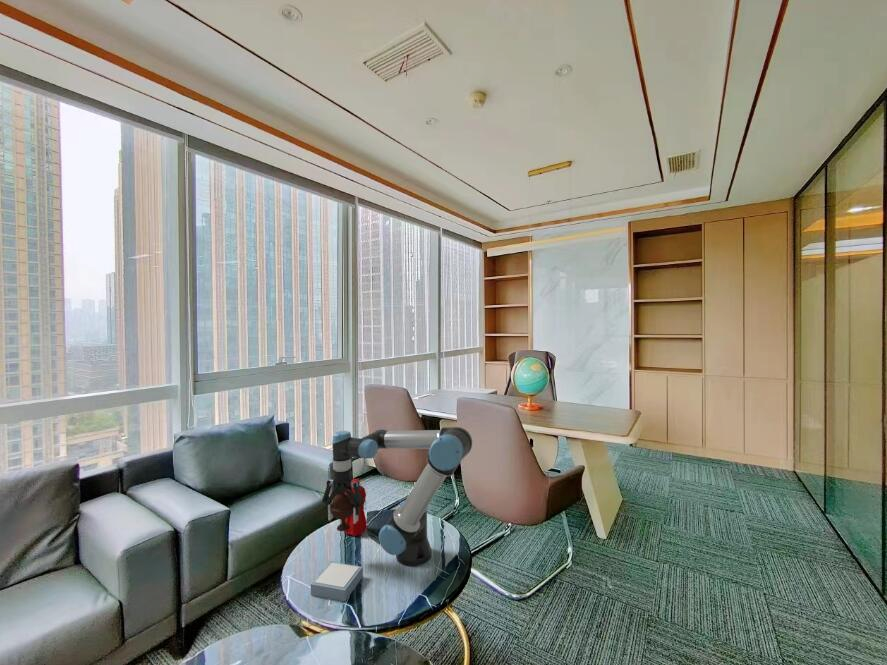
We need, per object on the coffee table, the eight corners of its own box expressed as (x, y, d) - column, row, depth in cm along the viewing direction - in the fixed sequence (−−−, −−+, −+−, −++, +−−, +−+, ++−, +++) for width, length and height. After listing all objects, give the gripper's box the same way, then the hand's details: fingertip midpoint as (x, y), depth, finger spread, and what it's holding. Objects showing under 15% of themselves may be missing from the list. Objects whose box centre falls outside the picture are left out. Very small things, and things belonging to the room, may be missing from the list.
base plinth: (362, 576, 151) (362, 565, 151) (345, 601, 137) (344, 589, 137) (331, 571, 154) (331, 560, 154) (310, 594, 141) (310, 583, 140)
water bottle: (360, 539, 178) (359, 485, 177) (341, 534, 182) (341, 481, 182) (372, 529, 186) (371, 478, 186) (354, 525, 191) (353, 475, 190)
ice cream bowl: (357, 531, 158) (357, 495, 158) (329, 536, 155) (328, 499, 155) (356, 519, 168) (355, 485, 168) (329, 524, 165) (329, 489, 165)
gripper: (371, 467, 162) (372, 519, 162) (322, 463, 168) (323, 513, 168) (363, 474, 155) (364, 528, 155) (312, 469, 161) (313, 521, 161)
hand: (343, 520), depth 161 cm, fingers closed on ice cream bowl, 11 cm apart
